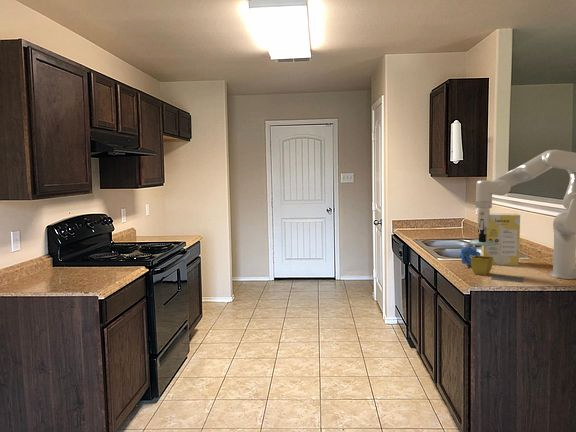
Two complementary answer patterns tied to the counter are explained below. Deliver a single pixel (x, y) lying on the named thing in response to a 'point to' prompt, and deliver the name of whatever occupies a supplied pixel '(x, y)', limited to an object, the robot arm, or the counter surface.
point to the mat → (507, 278)
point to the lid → (487, 243)
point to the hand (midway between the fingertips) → (482, 241)
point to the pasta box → (503, 239)
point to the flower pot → (481, 264)
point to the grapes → (468, 255)
